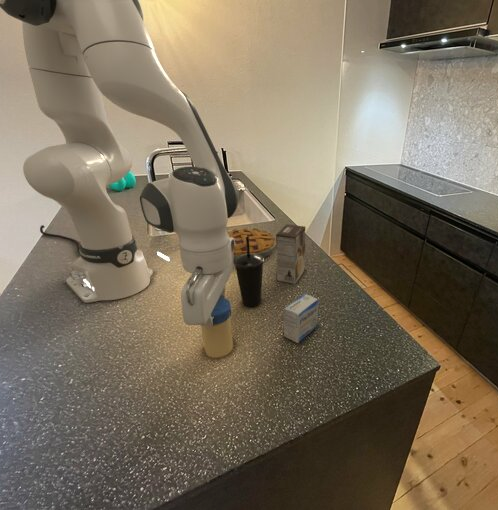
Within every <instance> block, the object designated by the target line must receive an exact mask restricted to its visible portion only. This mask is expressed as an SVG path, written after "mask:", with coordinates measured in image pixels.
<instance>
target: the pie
mask: <svg viewBox="0 0 498 510" xmlns="http://www.w3.org/2000/svg"><path fill="white" fill-rule="evenodd" d="M227 233H228V235H229V237H232V238H234V239H235V246H234V249H233V260H234V258H235V257H237V256H238V255H241V254H245V253H247V245H246V237H249V249H250V253H256V254H259V255H261V256H263V258H264V259H265V258H267V256H270V255H271V253H272V251H273V249H274V248H275V246H276V237H274V236H273V234H272V233H271V232H269V233H268V231H266V230H260V229H259V228H252V229H248V228H247V227H246V228H245V227H244V228H241V229H237V228H235V229H232V230H231V231H227Z"/></svg>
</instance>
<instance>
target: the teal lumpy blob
mask: <svg viewBox="0 0 498 510" xmlns="http://www.w3.org/2000/svg"><path fill="white" fill-rule="evenodd" d="M136 182H137V181H136V176H135V175H134V174H133V172H132V171H131V170H130V171H129V172H128V173H127V174H126V175H125V176H124V177H123V178H122V179H121V180H119V181H117V182H115V183H112V184H110V185H108V187H109V188H110V189H111V190H113V191H114V192H121V191H124V190H125V188H127V189H131V188H134V187H135V186H136Z"/></svg>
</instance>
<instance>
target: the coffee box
mask: <svg viewBox="0 0 498 510" xmlns="http://www.w3.org/2000/svg"><path fill="white" fill-rule="evenodd" d="M275 241H276V244H275V246H276V279H277V281H278V282H285V283H290V284H297V283H298V281H299V280H300V278H301V276H302V275H303V273H304V272H305V265H306V264H305V263H306V226H303V225H296V224H290V223H289V224H288V223H286V224H285V225H284V226H283V227H282V228H281V230H279V231H278V232H277V233H276V234H275Z"/></svg>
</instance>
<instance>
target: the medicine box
mask: <svg viewBox="0 0 498 510" xmlns="http://www.w3.org/2000/svg"><path fill="white" fill-rule="evenodd" d="M318 315H319V299H318V298H316V297H314V296H311V295H309V294H307V293H304V294H302V295H301V296H299V297H298V298H297V299H295V300H294V301H293V302H291V303H290V304H288V305H287V306H285V308H283V331H284V332H283V333H284V337H285V338H286V339H289V340H291V341H293V342H294V343H296V344H300V343H301V342H302V341H303V340H304V339H305V338H306V337H307V336H308V335H309V334H310V333H311V332H313V331H314V330H315V329H316V328H317V327H318Z"/></svg>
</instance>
